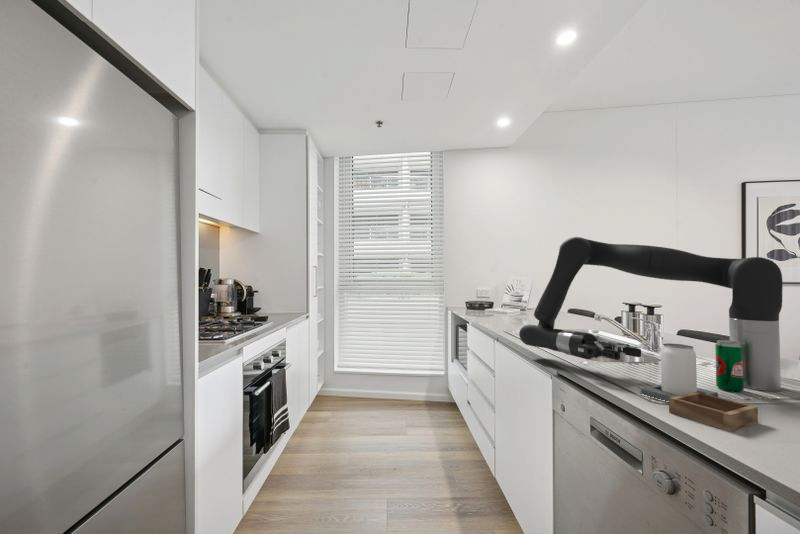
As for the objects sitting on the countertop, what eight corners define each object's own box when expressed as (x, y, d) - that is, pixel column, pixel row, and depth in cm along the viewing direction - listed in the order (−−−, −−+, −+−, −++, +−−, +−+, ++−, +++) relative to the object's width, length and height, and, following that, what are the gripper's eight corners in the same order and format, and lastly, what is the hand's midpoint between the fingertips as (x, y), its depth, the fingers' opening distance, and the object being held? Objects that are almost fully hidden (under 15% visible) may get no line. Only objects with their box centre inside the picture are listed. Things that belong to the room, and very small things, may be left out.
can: (703, 403, 78) (702, 348, 79) (670, 401, 80) (669, 347, 80) (686, 394, 85) (685, 343, 85) (656, 392, 86) (655, 342, 86)
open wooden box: (696, 405, 77) (696, 391, 77) (758, 422, 68) (757, 406, 68) (669, 412, 73) (668, 397, 73) (730, 431, 64) (730, 414, 64)
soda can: (737, 394, 85) (736, 343, 85) (711, 388, 90) (710, 340, 90) (748, 391, 87) (747, 342, 87) (722, 385, 92) (721, 339, 92)
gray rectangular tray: (673, 388, 89) (673, 382, 89) (717, 399, 81) (717, 392, 81) (641, 395, 84) (641, 388, 84) (684, 408, 75) (684, 400, 76)
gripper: (559, 332, 104) (612, 341, 90) (592, 330, 110) (647, 338, 96) (559, 358, 104) (612, 371, 89) (592, 354, 110) (647, 366, 95)
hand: (630, 354), depth 93 cm, fingers open, 8 cm apart
